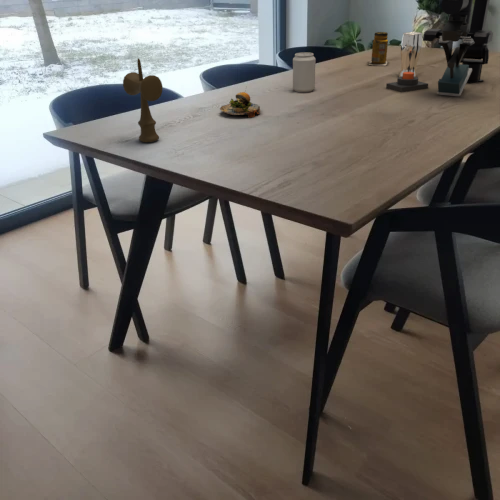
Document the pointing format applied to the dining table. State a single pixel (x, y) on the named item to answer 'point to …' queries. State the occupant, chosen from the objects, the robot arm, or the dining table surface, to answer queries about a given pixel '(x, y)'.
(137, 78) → the kendama
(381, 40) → the condiment
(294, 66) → the can
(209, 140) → the dining table surface
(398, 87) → the switch block
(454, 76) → the iron
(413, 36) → the beer glass
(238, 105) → the burger
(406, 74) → the power button
